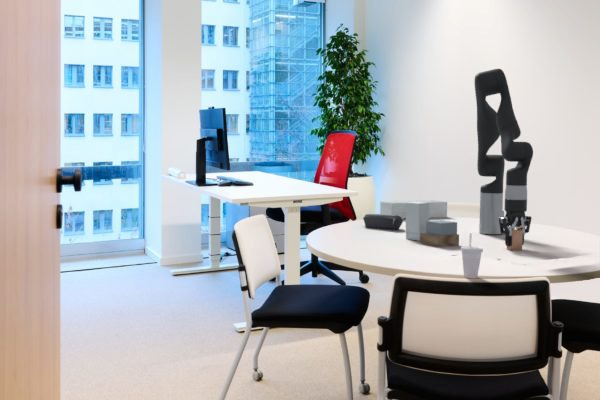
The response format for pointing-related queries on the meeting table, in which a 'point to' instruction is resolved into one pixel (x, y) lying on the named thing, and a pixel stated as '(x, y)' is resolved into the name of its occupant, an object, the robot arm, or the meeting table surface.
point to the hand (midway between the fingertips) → (514, 245)
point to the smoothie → (471, 260)
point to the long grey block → (399, 206)
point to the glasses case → (383, 221)
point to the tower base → (439, 240)
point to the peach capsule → (516, 240)
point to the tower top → (441, 227)
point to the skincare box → (416, 219)
